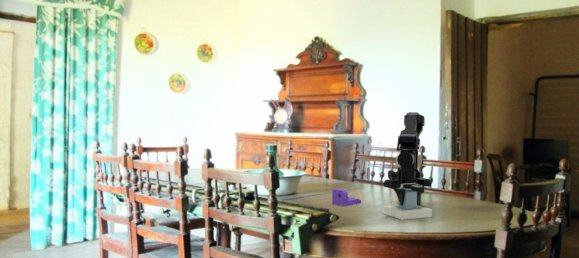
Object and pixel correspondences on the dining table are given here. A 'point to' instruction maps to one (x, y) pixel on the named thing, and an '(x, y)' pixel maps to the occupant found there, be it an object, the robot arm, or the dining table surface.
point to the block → (409, 200)
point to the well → (407, 212)
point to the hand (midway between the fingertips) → (407, 205)
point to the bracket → (343, 198)
